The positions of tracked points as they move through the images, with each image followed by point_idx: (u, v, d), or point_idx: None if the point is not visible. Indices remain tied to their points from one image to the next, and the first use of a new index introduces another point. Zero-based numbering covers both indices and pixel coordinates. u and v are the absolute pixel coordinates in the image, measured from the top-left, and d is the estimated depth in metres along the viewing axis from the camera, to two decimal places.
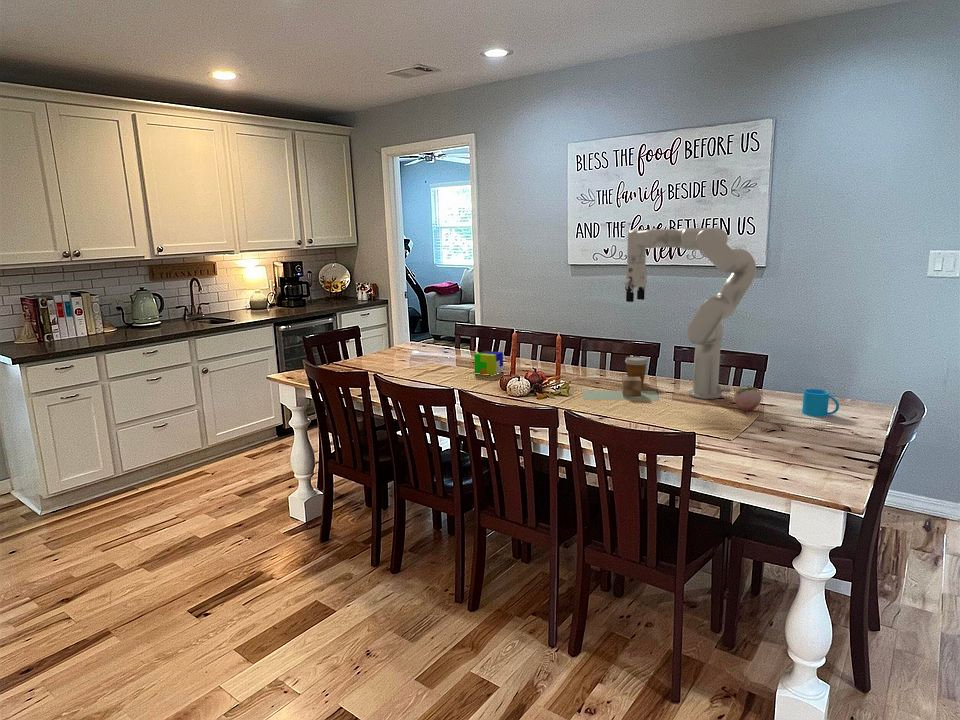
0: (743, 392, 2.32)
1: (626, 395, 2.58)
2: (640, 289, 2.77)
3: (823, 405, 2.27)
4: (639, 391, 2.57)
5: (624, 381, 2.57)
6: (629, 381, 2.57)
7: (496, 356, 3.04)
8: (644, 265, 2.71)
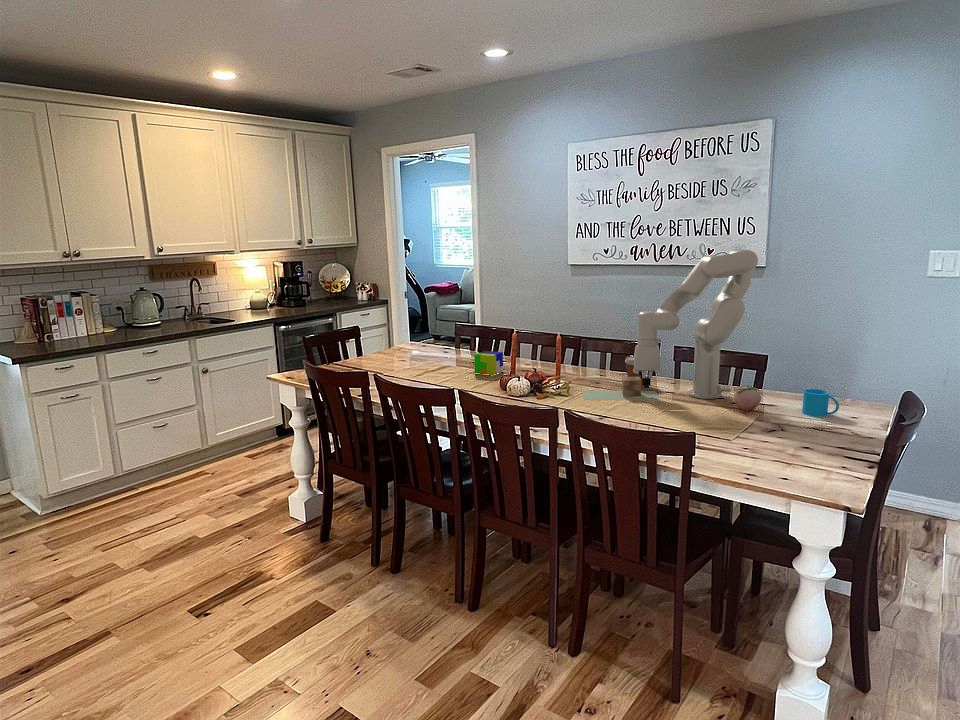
0: (743, 392, 2.32)
1: (626, 395, 2.58)
2: None
3: (823, 405, 2.27)
4: (639, 391, 2.57)
5: (624, 381, 2.57)
6: (629, 381, 2.57)
7: (496, 356, 3.04)
8: None
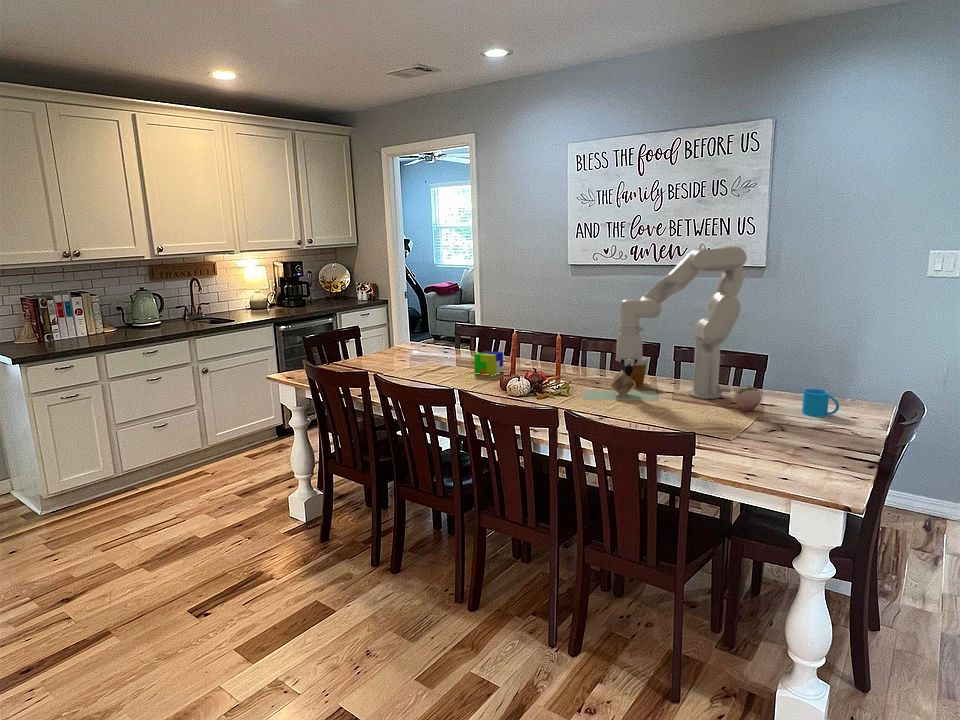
0: (743, 392, 2.32)
1: (624, 393, 2.58)
2: (627, 363, 2.59)
3: (823, 405, 2.27)
4: (629, 382, 2.57)
5: (612, 385, 2.58)
6: (615, 382, 2.58)
7: (496, 356, 3.04)
8: None
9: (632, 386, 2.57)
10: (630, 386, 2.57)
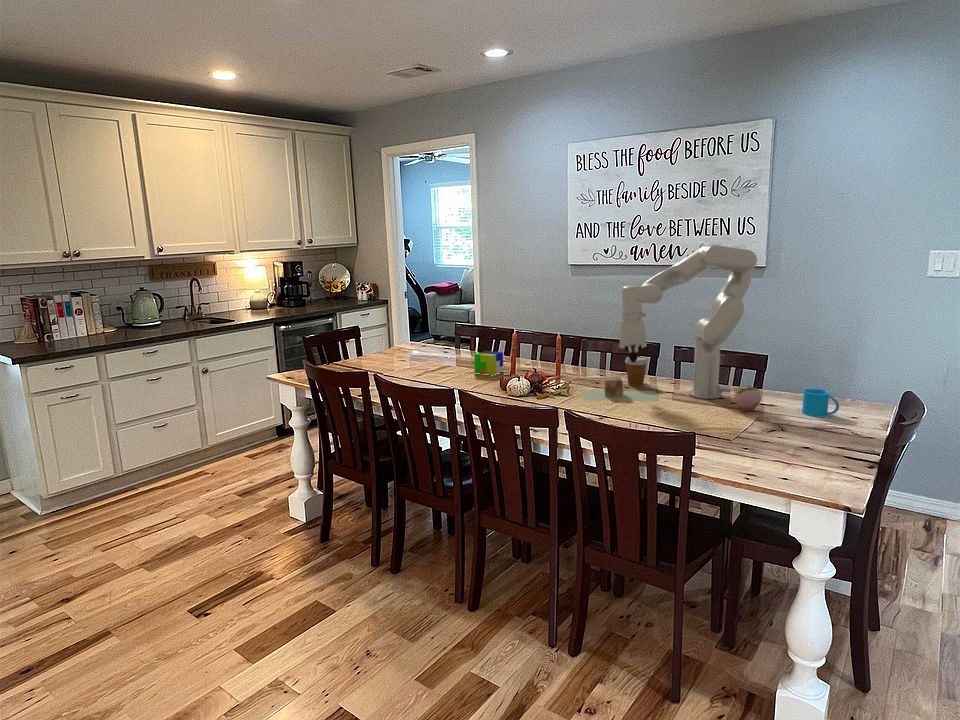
0: (743, 392, 2.32)
1: (621, 394, 2.58)
2: (631, 349, 2.57)
3: (823, 405, 2.27)
4: (616, 382, 2.57)
5: (606, 396, 2.59)
6: (606, 391, 2.59)
7: (496, 356, 3.04)
8: None
9: (621, 383, 2.57)
10: (620, 384, 2.57)
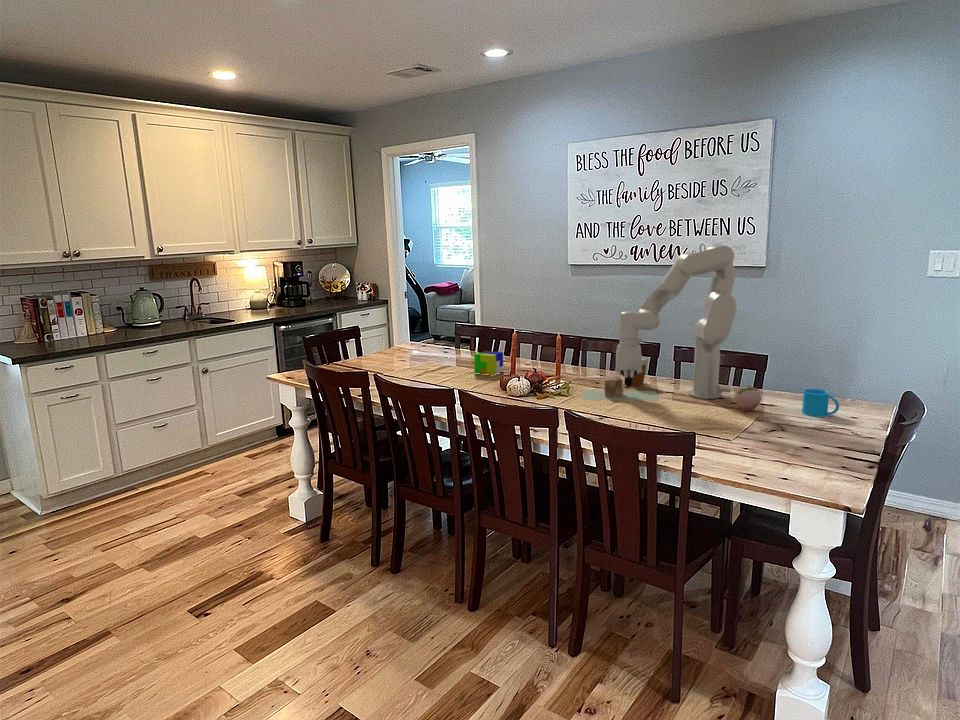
0: (743, 392, 2.32)
1: (620, 393, 2.58)
2: None
3: (823, 405, 2.27)
4: (616, 381, 2.57)
5: (606, 396, 2.59)
6: (606, 391, 2.59)
7: (496, 356, 3.04)
8: None
9: (621, 383, 2.57)
10: (620, 384, 2.57)
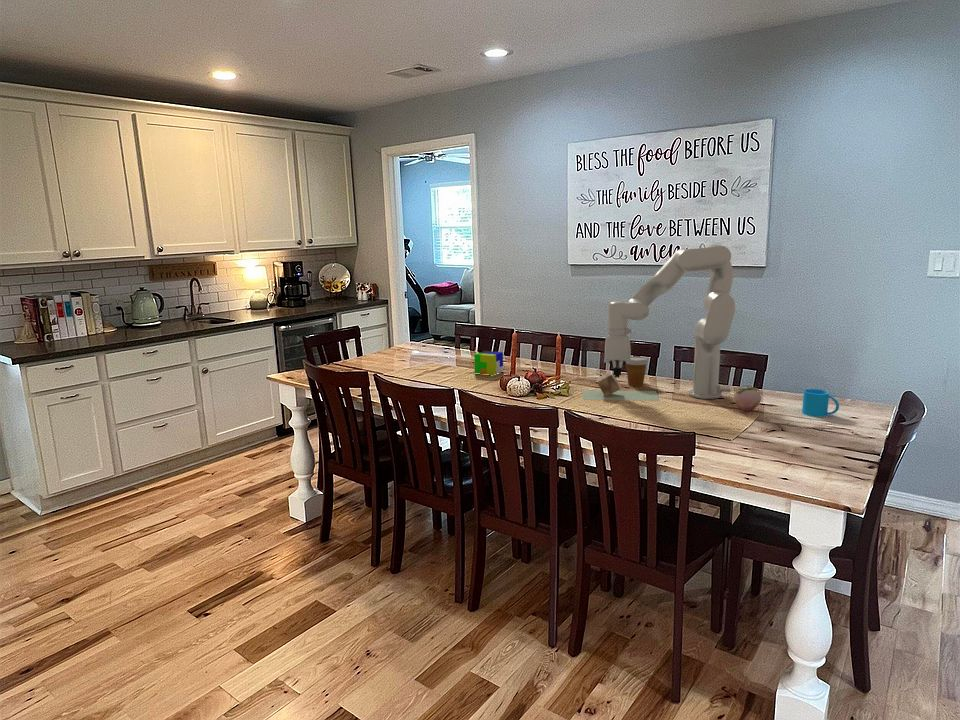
0: (743, 392, 2.32)
1: (617, 387, 2.58)
2: None
3: (823, 405, 2.27)
4: (607, 378, 2.58)
5: (605, 395, 2.59)
6: (603, 391, 2.59)
7: (496, 356, 3.04)
8: None
9: (612, 377, 2.57)
10: (611, 379, 2.58)
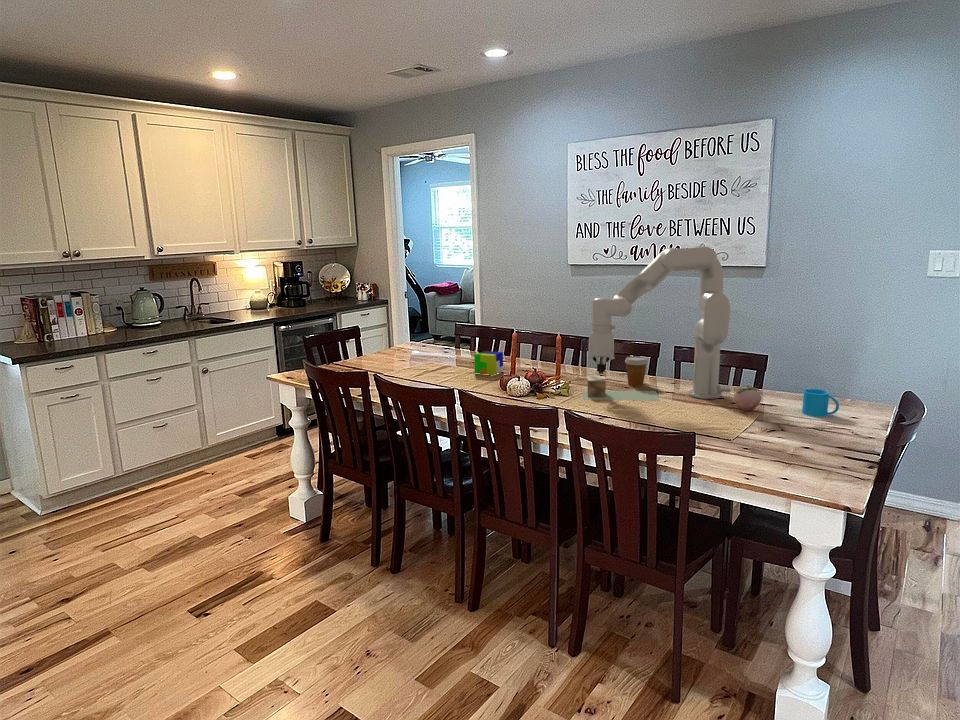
0: (743, 392, 2.32)
1: (602, 382, 2.58)
2: (599, 361, 2.60)
3: (823, 405, 2.27)
4: (589, 386, 2.59)
5: (604, 396, 2.59)
6: (599, 396, 2.60)
7: (496, 356, 3.04)
8: None
9: (591, 381, 2.59)
10: (592, 383, 2.59)
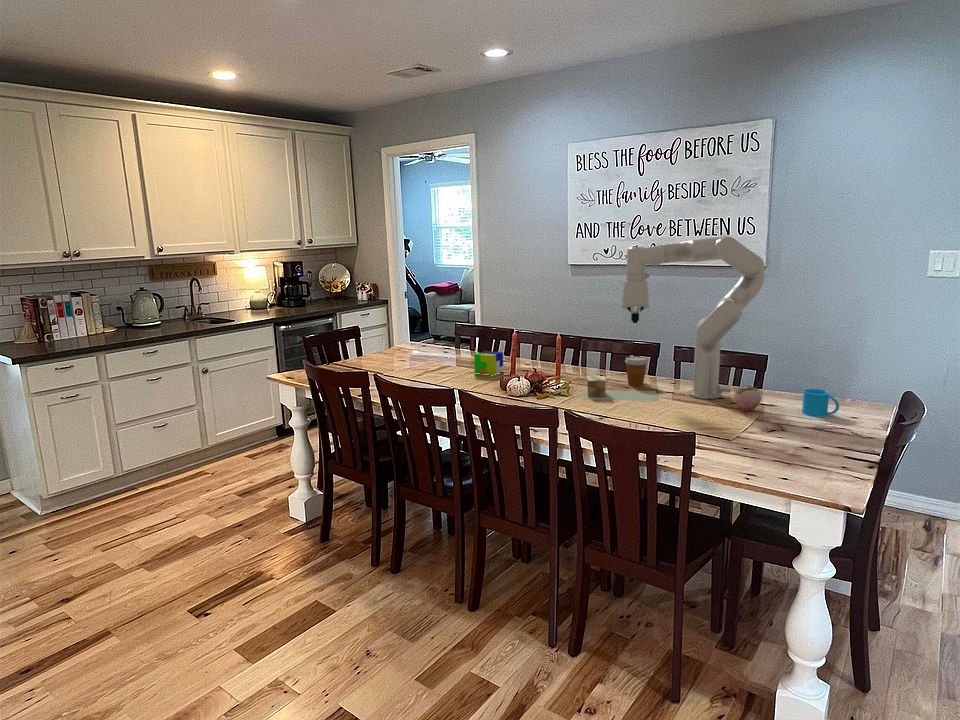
0: (743, 392, 2.32)
1: (602, 382, 2.58)
2: None
3: (823, 405, 2.27)
4: (589, 386, 2.59)
5: (604, 396, 2.59)
6: (599, 396, 2.60)
7: (496, 356, 3.04)
8: None
9: (591, 381, 2.59)
10: (592, 383, 2.59)
